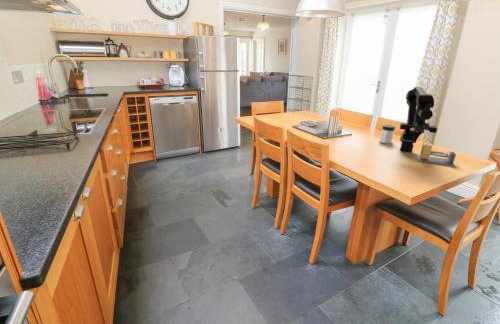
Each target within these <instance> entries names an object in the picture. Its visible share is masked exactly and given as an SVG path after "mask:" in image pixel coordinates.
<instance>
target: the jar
mask: <svg viewBox="0 0 500 324" xmlns="http://www.w3.org/2000/svg"><path fill="white" fill-rule="evenodd" d="M381 128H382V129H381V132H380V136H379V137H380V138H379V142H380V143H382V144H392V142H393V139H394V134H395V130H396V126H395V125H391V124H383V125H382V127H381Z"/></svg>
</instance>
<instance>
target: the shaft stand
mask: <svg viewBox="0 0 500 324" xmlns="http://www.w3.org/2000/svg"><path fill="white" fill-rule="evenodd" d="M456 155H457V154H456V153H455V151H447V153H444V152H441V151H432V150H431V153H430V157H429V160H428V159H421V157H420V154H416V159H417V162H420V163H427V164H431V165H432V164H433V165H440V166H441V165H442V166H448V167H454V166H455V163H454V162H455V159H456Z"/></svg>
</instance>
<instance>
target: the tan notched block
mask: <svg viewBox="0 0 500 324" xmlns="http://www.w3.org/2000/svg"><path fill="white" fill-rule="evenodd" d="M432 149H433V145H432V143H431V142H422V145H421V148H420V154H419V155H420V157H421V159H428V160H429V157H431V156H430V153H431V151H432Z"/></svg>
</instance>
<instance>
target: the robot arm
mask: <svg viewBox="0 0 500 324" xmlns="http://www.w3.org/2000/svg"><path fill="white" fill-rule="evenodd" d="M405 100H406V104H407V106H408V108H407V109H408V111H407V119H406V120H407V121H406V123H405V122H401V123H400V124H399V129H400V130H403V131H402V134H401V135H400V138H399V140H400V142H401V143H400V147H399V151H400V152H406V153H412V152H413V148H414V144H416V143H417V140H418V139H419V137H420V136H421V135H422V134H425V131H428V132H429V133H434V134H436V133H437V132H438V128H437V127H436V126H435V125H430V122H426V121H427V120H430V119H431V118H432V117H433V116H434V113H433V111H432V110H431V109H434V105H435V99H434V96H433V94H431V93H427V92H426V90H424V87H421V86H415V87H413V88H412V89H410V90H408V91H407V93H406V95H405Z"/></svg>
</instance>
